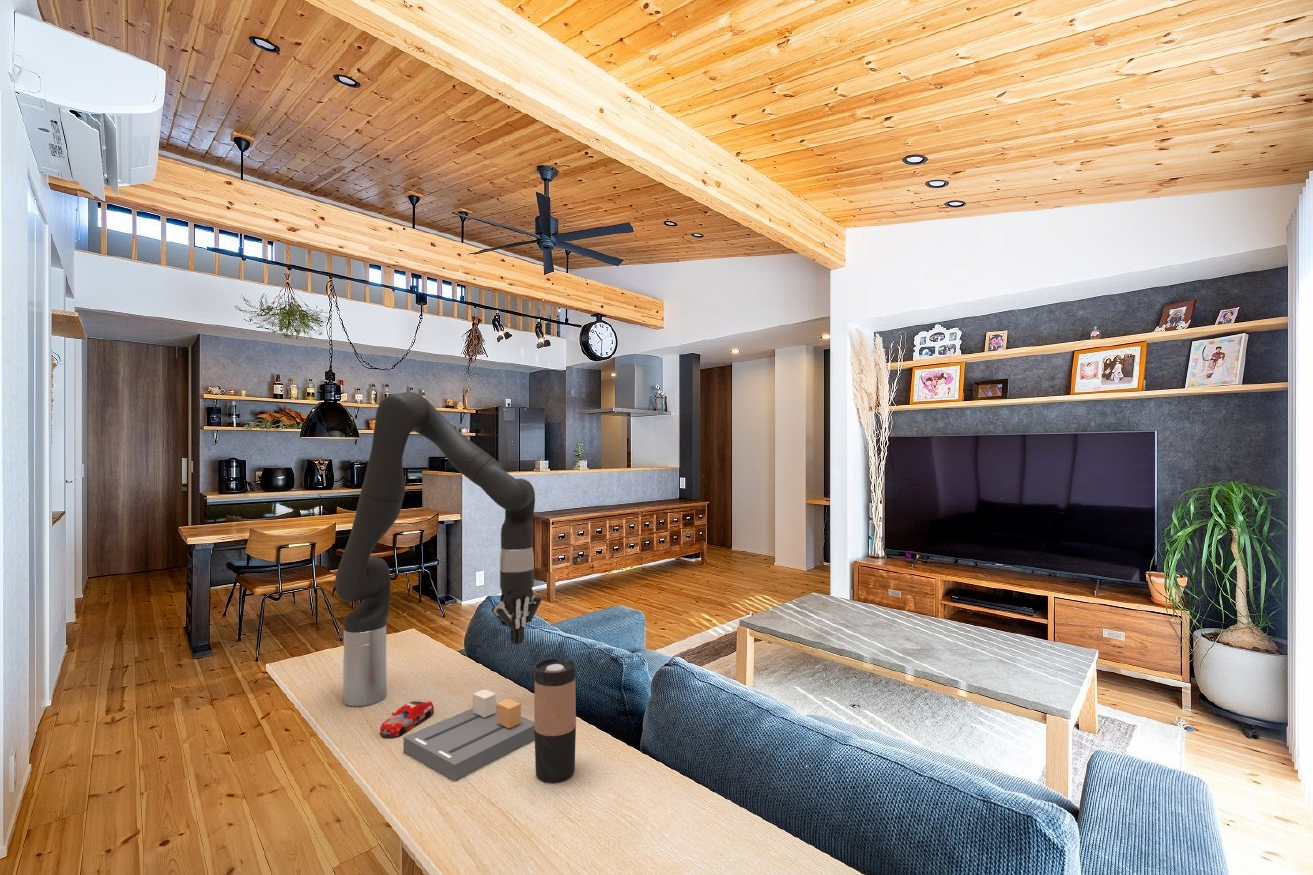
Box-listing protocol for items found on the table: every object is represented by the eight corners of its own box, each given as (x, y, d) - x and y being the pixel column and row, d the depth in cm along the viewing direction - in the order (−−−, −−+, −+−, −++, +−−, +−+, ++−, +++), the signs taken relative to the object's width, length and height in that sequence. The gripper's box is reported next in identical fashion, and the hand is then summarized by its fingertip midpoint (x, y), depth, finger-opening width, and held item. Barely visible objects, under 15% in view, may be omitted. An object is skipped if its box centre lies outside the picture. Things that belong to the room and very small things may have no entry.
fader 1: (473, 712, 130) (472, 693, 130) (484, 707, 132) (484, 689, 132) (484, 717, 127) (484, 698, 127) (496, 712, 130) (496, 693, 130)
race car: (394, 742, 125) (394, 722, 124) (374, 737, 126) (374, 718, 126) (438, 714, 137) (438, 696, 137) (419, 710, 139) (419, 693, 139)
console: (403, 752, 120) (403, 736, 120) (486, 715, 136) (486, 701, 136) (454, 781, 110) (454, 764, 110) (538, 737, 126) (538, 722, 126)
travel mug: (541, 788, 107) (541, 675, 107) (529, 767, 114) (529, 661, 114) (581, 777, 111) (581, 668, 111) (568, 757, 118) (567, 655, 118)
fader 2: (496, 722, 125) (496, 703, 125) (508, 717, 127) (508, 698, 127) (509, 728, 123) (509, 708, 123) (520, 722, 125) (520, 703, 125)
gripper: (528, 560, 145) (528, 633, 145) (482, 570, 134) (482, 648, 134) (550, 564, 140) (550, 639, 140) (504, 574, 130) (504, 655, 129)
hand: (517, 643), depth 137 cm, fingers closed
